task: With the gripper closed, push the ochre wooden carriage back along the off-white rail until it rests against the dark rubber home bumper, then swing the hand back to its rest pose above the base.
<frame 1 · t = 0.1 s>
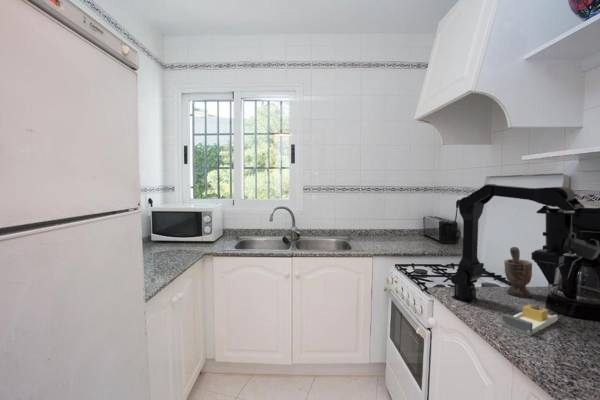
hand: (558, 281, 82), 15 cm above the worktop, fingers open, 9 cm apart
carriage: (535, 311, 88), point 3 cm above the worktop, slide at 8.0 cm
mortar and pestle: (519, 296, 108), on the worktop
rail: (530, 323, 86), on the worktop
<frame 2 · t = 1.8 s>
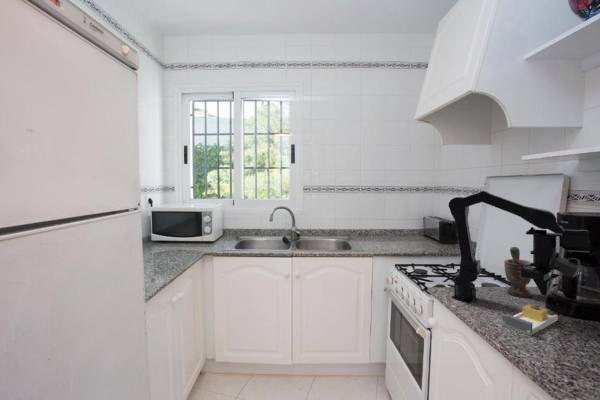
hand: (544, 295, 91), 7 cm above the worktop, fingers closed
nothing on the worktop moved.
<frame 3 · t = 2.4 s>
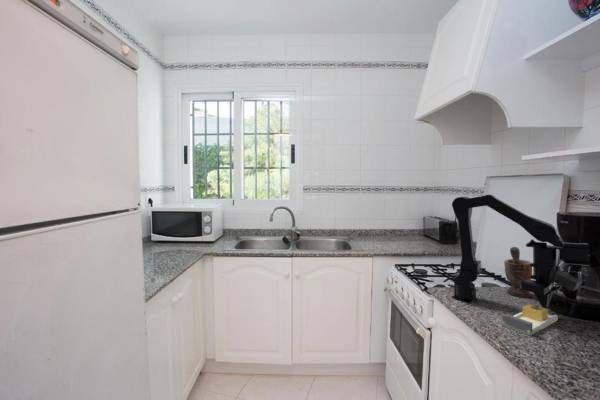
hand: (544, 307, 91), 3 cm above the worktop, fingers closed
nothing on the worktop moved.
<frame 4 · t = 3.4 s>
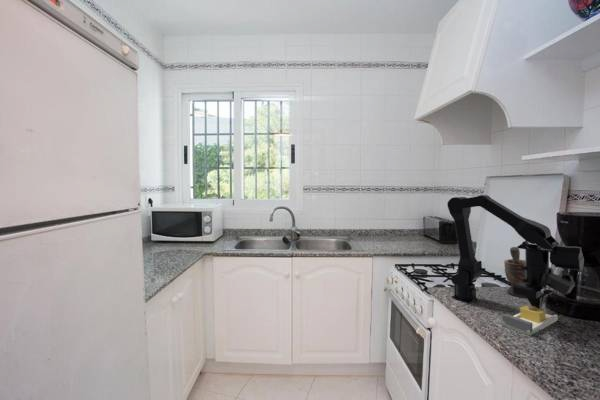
hand: (537, 311, 89), 2 cm above the worktop, fingers closed
carriage: (532, 312, 87), point 3 cm above the worktop, slide at 6.4 cm, touching gripper
everything else where it was.
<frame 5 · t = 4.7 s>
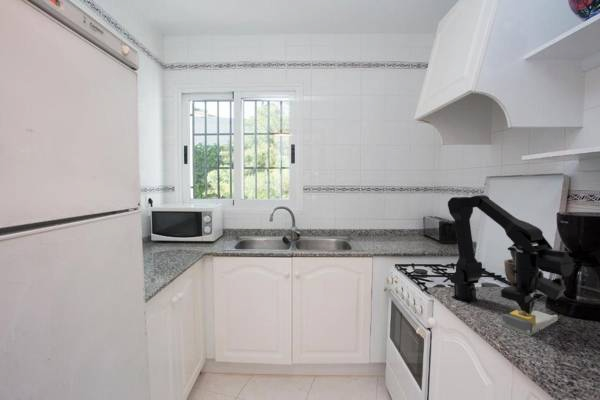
hand: (527, 316, 86), 3 cm above the worktop, fingers closed
carriage: (522, 317, 84), point 3 cm above the worktop, slide at 0.0 cm, touching gripper
everything else where it was.
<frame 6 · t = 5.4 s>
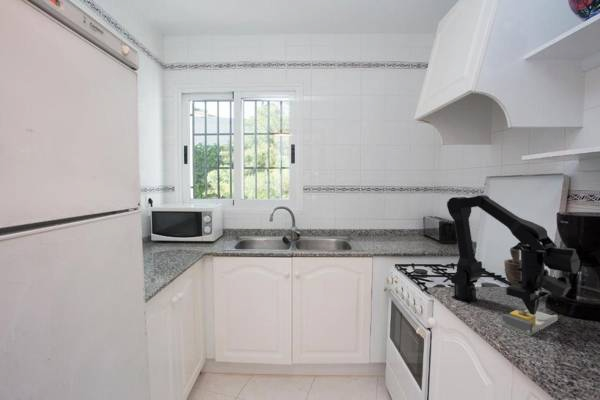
hand: (532, 314, 87), 2 cm above the worktop, fingers closed
carriage: (522, 317, 84), point 3 cm above the worktop, slide at 0.0 cm
everything else where it was.
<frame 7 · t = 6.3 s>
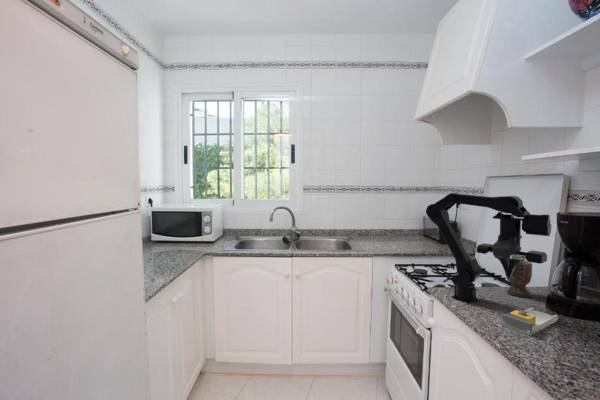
hand: (508, 277, 95), 12 cm above the worktop, fingers closed
nothing on the worktop moved.
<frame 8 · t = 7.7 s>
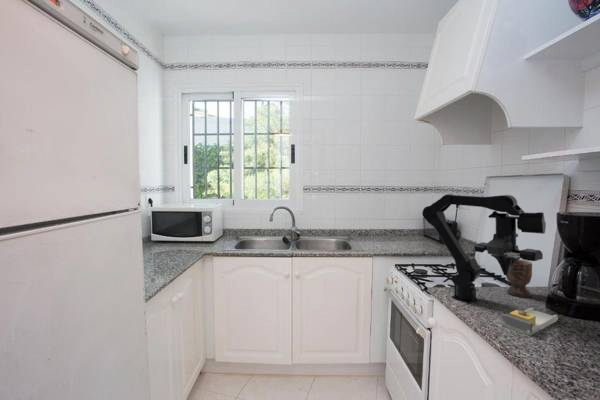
hand: (506, 275, 96), 12 cm above the worktop, fingers closed
nothing on the worktop moved.
at the end: carriage slide at 0.0 cm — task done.
